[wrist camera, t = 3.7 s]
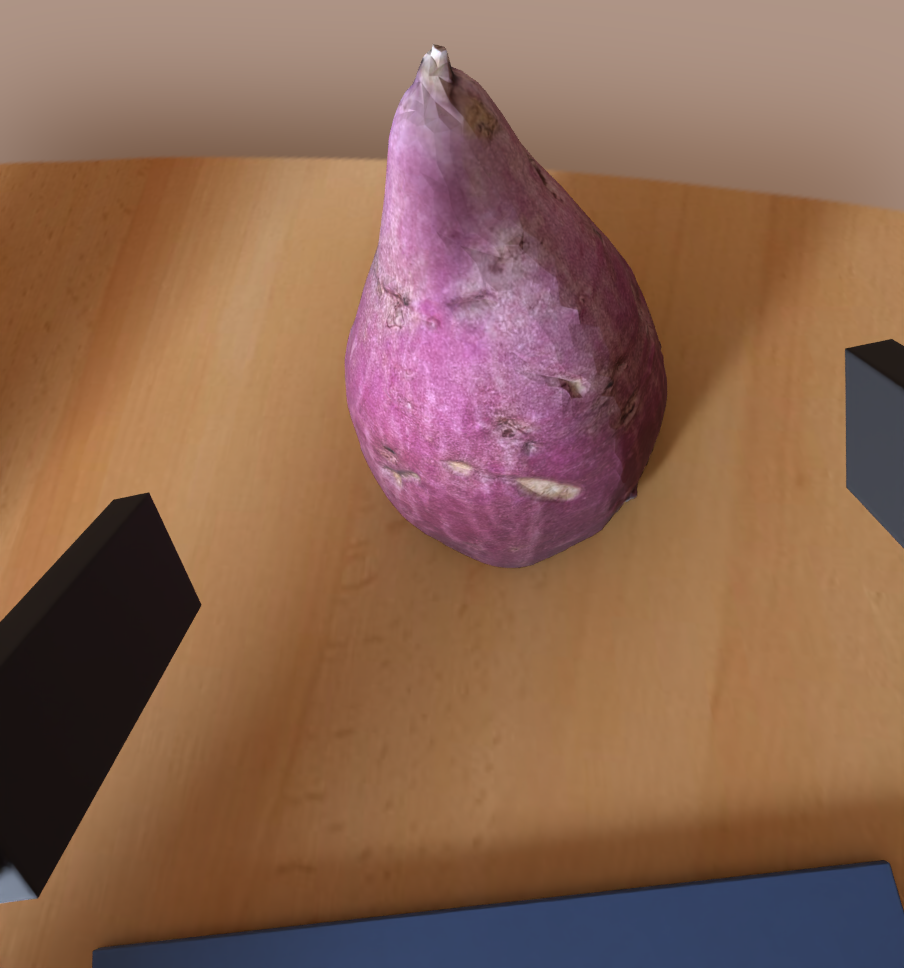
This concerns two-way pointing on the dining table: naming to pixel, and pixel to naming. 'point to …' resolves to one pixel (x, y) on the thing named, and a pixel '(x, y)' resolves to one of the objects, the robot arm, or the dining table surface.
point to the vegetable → (496, 340)
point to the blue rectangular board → (590, 930)
